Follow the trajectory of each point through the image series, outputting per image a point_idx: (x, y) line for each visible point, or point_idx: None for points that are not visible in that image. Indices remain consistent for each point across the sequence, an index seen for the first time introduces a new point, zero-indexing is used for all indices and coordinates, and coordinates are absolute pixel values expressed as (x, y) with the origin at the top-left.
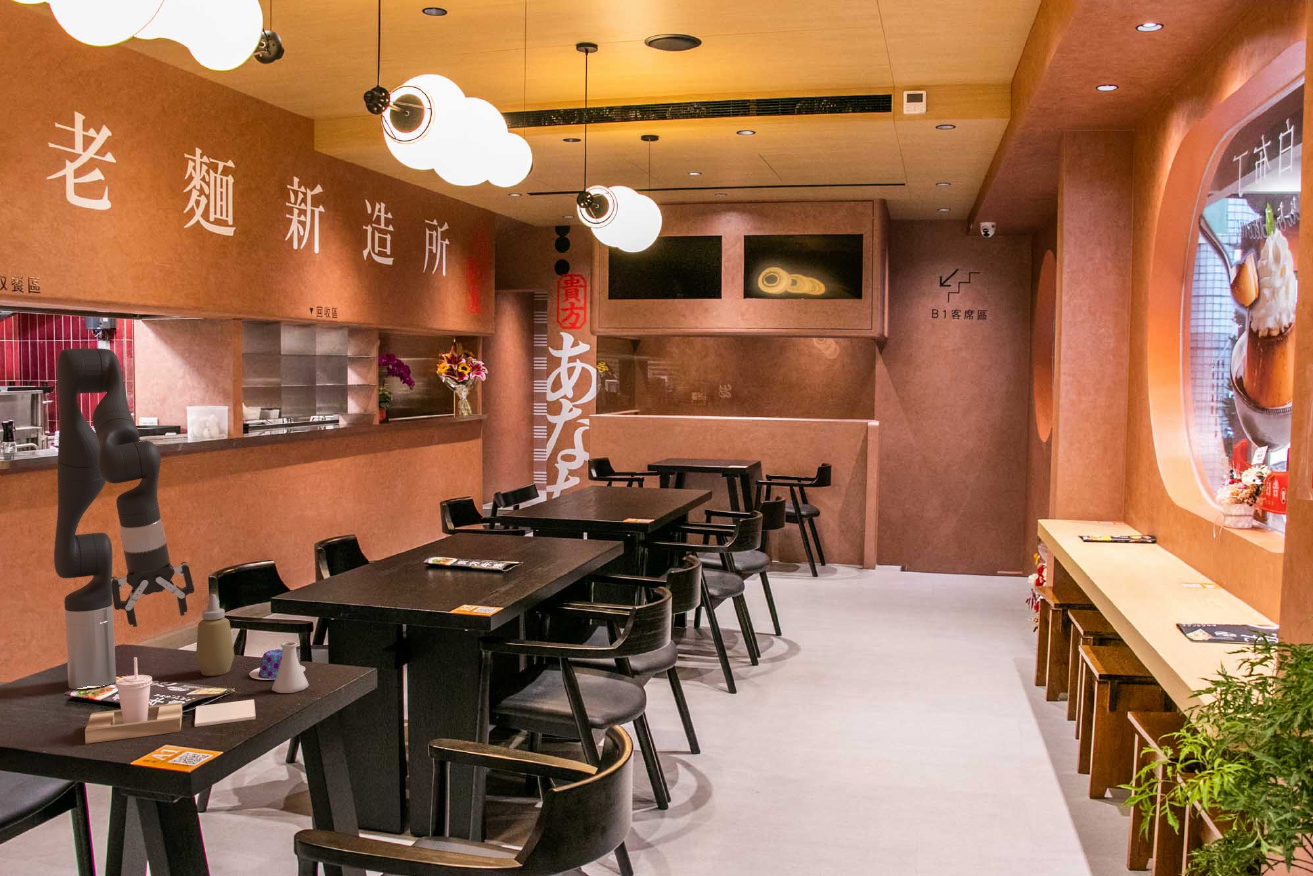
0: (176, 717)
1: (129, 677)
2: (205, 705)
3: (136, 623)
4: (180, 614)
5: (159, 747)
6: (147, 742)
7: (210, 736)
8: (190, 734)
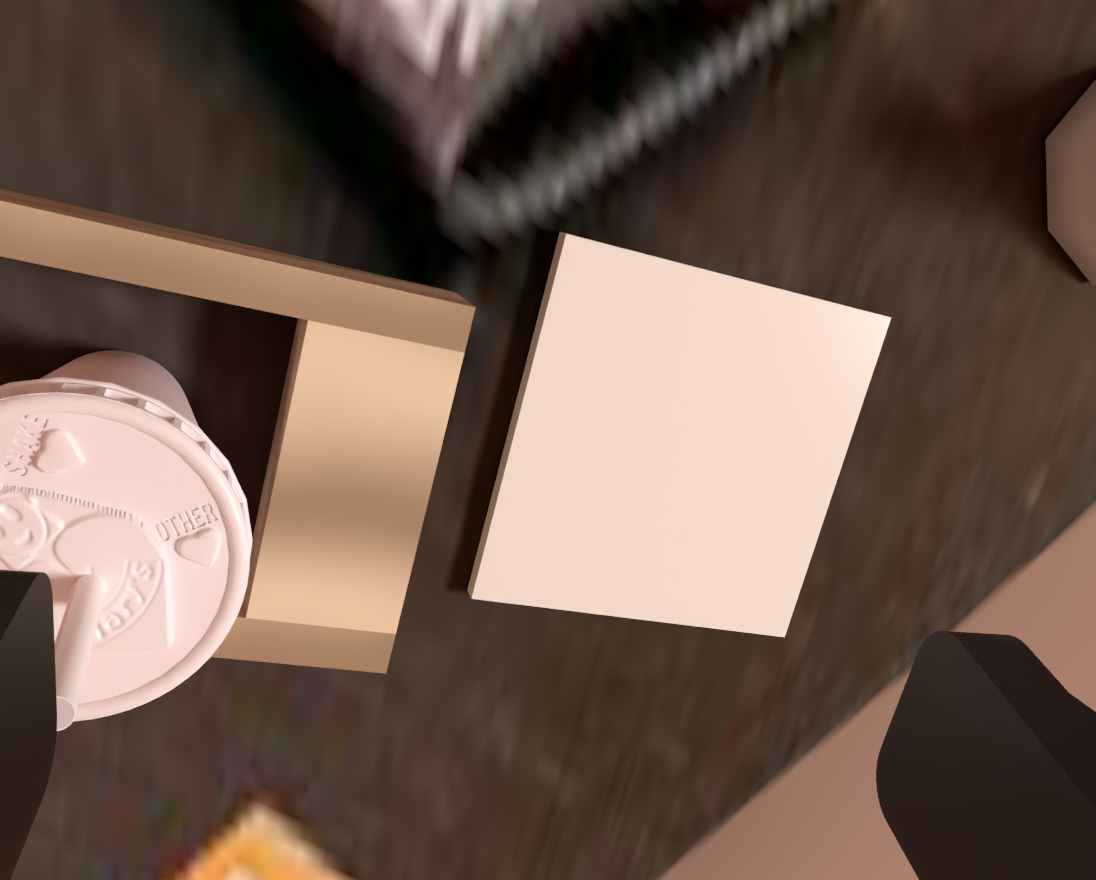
0: (371, 639)
1: (27, 438)
2: (622, 251)
3: (25, 824)
4: (898, 744)
5: (216, 839)
6: (160, 726)
7: (501, 786)
8: (415, 705)
